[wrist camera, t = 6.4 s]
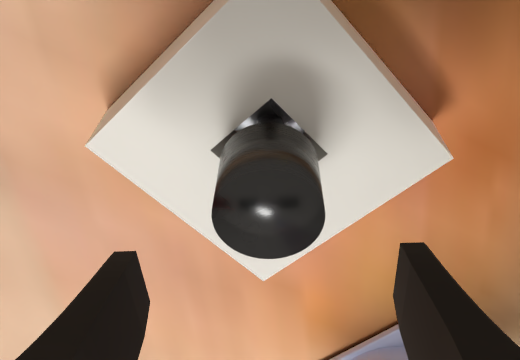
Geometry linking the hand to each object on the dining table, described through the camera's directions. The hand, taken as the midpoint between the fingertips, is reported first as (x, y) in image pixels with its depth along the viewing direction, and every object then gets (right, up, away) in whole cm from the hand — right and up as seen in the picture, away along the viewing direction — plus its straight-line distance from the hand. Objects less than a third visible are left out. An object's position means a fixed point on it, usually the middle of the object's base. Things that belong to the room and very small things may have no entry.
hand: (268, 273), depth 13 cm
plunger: (0, +5, +8) cm, 9 cm away
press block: (0, +5, +8) cm, 9 cm away
